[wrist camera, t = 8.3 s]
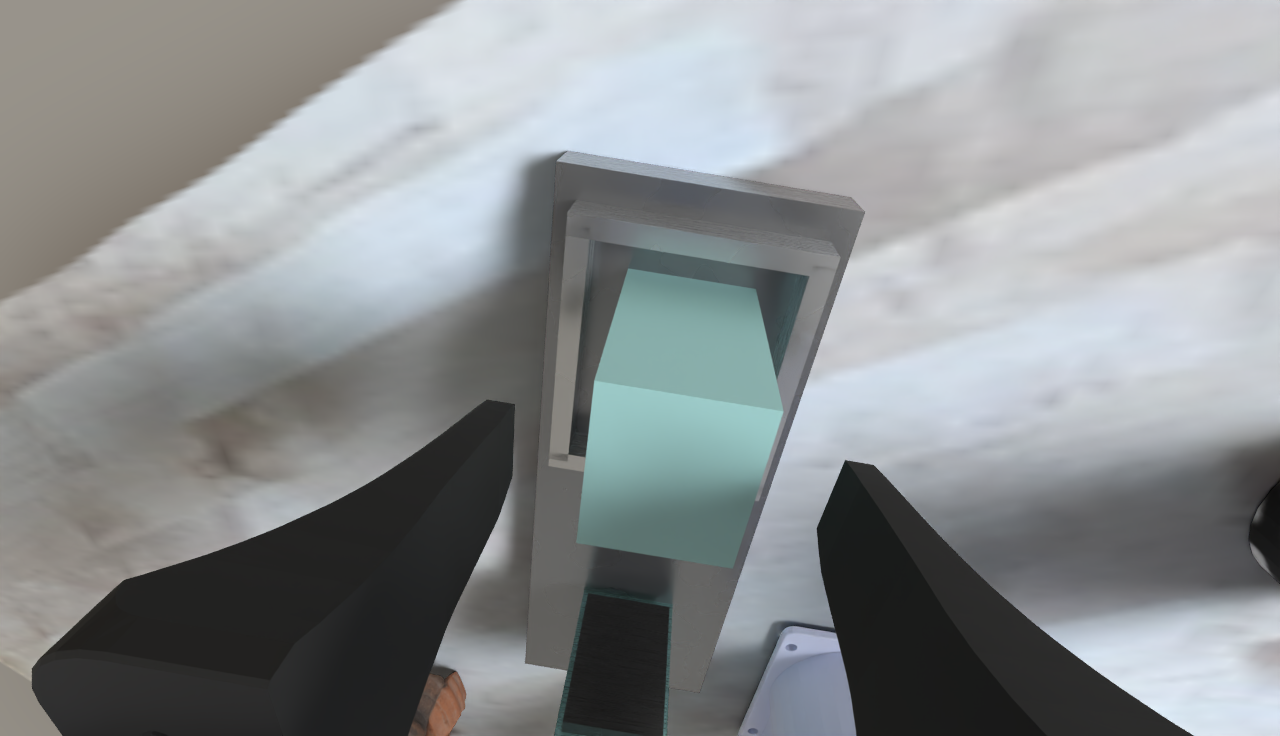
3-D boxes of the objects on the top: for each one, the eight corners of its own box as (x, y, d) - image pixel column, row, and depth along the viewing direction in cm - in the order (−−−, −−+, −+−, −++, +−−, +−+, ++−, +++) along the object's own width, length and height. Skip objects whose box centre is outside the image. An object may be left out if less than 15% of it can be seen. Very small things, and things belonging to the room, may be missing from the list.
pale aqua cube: (628, 268, 16) (594, 380, 11) (755, 288, 16) (783, 411, 11) (609, 413, 18) (574, 560, 13) (718, 431, 18) (727, 585, 13)
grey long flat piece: (699, 661, 27) (699, 857, 21) (533, 633, 27) (481, 820, 21) (851, 197, 16) (956, 309, 9) (567, 150, 16) (478, 230, 9)
